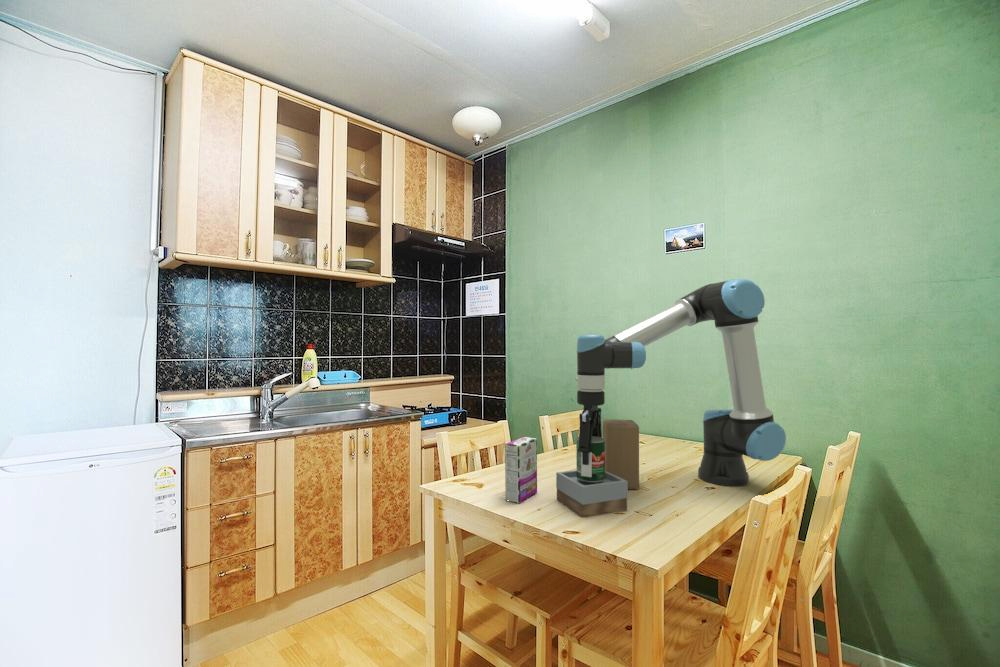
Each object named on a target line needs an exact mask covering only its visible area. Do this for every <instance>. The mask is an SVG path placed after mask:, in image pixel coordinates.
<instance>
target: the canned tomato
mask: <svg viewBox="0 0 1000 667" xmlns="http://www.w3.org/2000/svg"><path fill="white" fill-rule="evenodd" d="M575 440H576V449H575V450H576V470H577V476H576V477H577V479H578V480H581V481H584V482H602V481H604V480H605V439H604V438H603V436H602V437H595V436H592V442H591V452H592V477H586V476H581V452H578V448H579V436H577V437H576V438H575Z"/></svg>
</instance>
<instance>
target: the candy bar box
mask: <svg viewBox="0 0 1000 667" xmlns="http://www.w3.org/2000/svg"><path fill="white" fill-rule="evenodd" d="M537 441H538V440H537V438H536V437H535V438H534V437H529V436H523V437H519V438H518V439H515V440H512V441H509V442H507V443H505V444H504V456H505V457H504V469H505V472H504V473H505V483H504V484H505V501H506V500H509V501H513V502H512V503H514V502H517V503H516V504H521V503H523V502H525V501H526V500H527V498H528V499H529V498H531V497H532V496H534V495H536V494H537V493H538V453H537V452H538V446H537V445H538V442H537ZM535 493H536V494H535ZM524 500H525V501H524ZM509 501H508V502H509ZM522 501H523V502H522Z"/></svg>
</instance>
